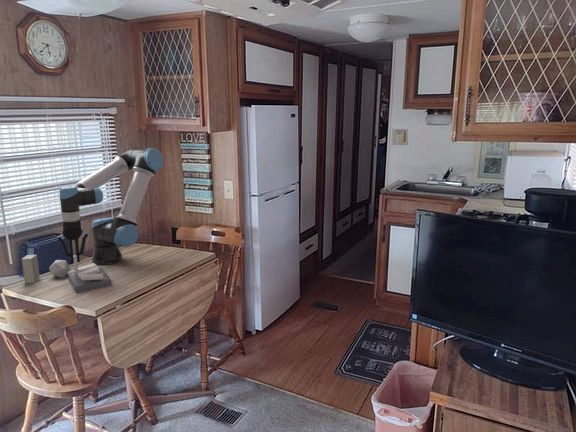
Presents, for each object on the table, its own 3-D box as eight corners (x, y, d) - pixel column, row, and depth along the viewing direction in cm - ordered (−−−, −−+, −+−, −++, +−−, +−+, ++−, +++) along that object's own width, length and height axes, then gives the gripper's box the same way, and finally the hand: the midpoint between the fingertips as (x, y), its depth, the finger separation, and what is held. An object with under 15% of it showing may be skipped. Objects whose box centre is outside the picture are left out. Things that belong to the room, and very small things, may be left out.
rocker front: (80, 277, 195) (80, 274, 195) (101, 276, 201) (101, 273, 200) (81, 280, 192) (82, 277, 192) (103, 279, 197) (103, 276, 197)
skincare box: (30, 279, 208) (27, 254, 205) (40, 278, 208) (37, 254, 206) (24, 283, 202) (20, 258, 199) (34, 283, 202) (31, 258, 200)
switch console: (68, 279, 207) (67, 271, 206) (102, 272, 215) (101, 265, 215) (75, 293, 190) (74, 285, 189) (111, 285, 198) (111, 277, 198)
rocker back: (75, 271, 207) (74, 268, 207) (95, 265, 212) (94, 263, 211) (76, 273, 204) (76, 271, 203) (96, 268, 208) (96, 265, 208)
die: (55, 281, 206) (66, 264, 206) (42, 271, 207) (53, 254, 208) (66, 281, 214) (77, 265, 214) (53, 272, 215) (64, 255, 216)
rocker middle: (77, 276, 201) (76, 273, 201) (97, 269, 206) (97, 266, 206) (79, 278, 198) (78, 276, 197) (99, 271, 202) (98, 269, 202)
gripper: (56, 223, 194) (61, 273, 198) (88, 220, 201) (92, 269, 205) (54, 220, 200) (59, 269, 204) (85, 217, 207) (89, 264, 212)
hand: (75, 269), depth 205 cm, fingers closed
